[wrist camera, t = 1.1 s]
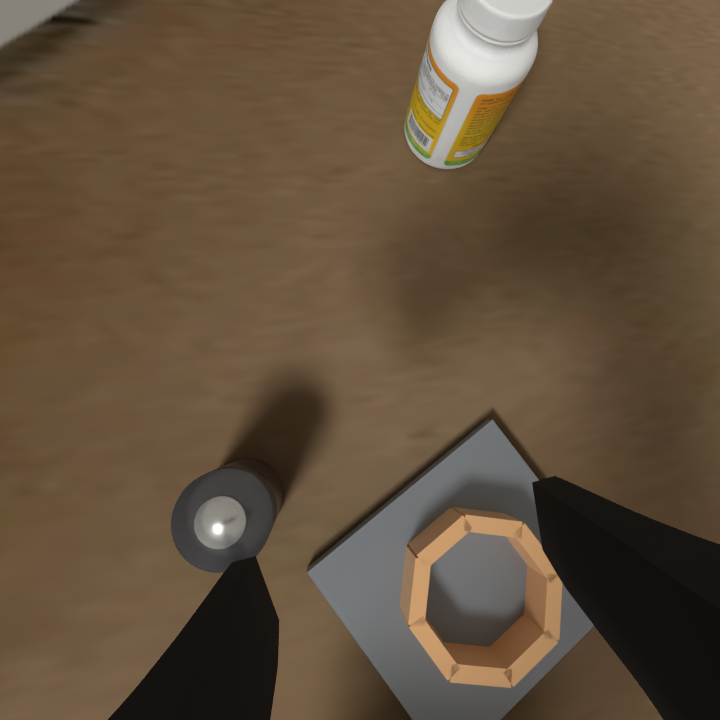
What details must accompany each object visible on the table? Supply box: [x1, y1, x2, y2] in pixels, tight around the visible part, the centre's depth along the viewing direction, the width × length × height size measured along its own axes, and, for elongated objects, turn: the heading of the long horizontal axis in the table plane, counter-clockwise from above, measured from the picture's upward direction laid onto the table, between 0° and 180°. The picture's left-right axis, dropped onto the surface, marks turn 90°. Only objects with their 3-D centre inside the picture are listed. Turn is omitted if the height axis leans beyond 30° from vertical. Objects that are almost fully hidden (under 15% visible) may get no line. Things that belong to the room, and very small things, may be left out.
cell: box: [171, 459, 283, 573], centre depth 19 cm, size 4×4×6 cm
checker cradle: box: [307, 419, 594, 720], centre depth 22 cm, size 13×12×3 cm
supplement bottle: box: [404, 0, 553, 169], centre depth 22 cm, size 5×5×10 cm
